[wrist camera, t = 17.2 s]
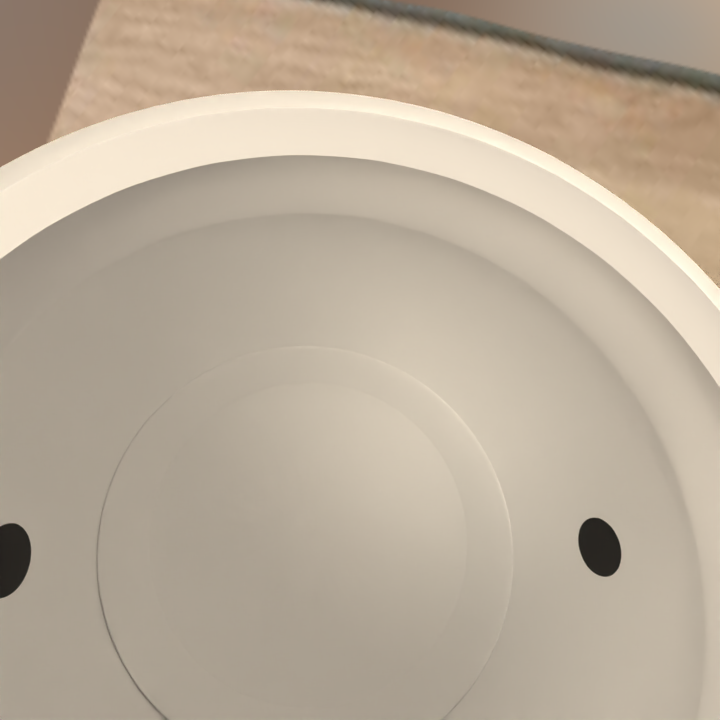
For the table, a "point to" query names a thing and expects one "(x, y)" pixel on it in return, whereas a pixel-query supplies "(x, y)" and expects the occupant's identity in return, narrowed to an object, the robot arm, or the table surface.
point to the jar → (349, 425)
